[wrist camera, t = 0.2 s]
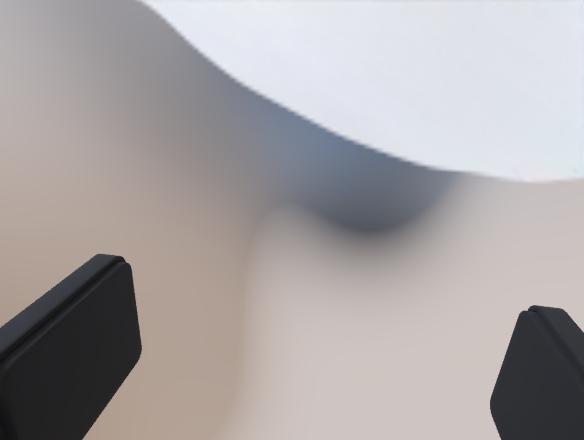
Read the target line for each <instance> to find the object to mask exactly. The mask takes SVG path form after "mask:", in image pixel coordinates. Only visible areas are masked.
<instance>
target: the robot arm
mask: <svg viewBox="0 0 584 440" xmlns="http://www.w3.org/2000/svg"><path fill="white" fill-rule="evenodd" d="M141 350H142V345H141V338H140V331H139V323H138V315H137V307H136V301H135V293H134V285H133V277H132V270H131V266H130V264H129V263H126V262H125V260H124V258H123V257H121V256H115V255H106V254H97V255H95V256H94V257H93V258H91V259H90V260H89V261H87V262H86V263H85V264H84V265H82V266H81V267H80V268H78V269H77V270H76V271H74V272H73V273H72V274H70V275H69V276H68V277H66V278H65V279H64V280H62V281H61V282H60V283H59V284H57V285H56V286H55V287H53V288H52V289H51V290H50V291H48V292H47V293H45V294H44V295H43V296H42V297H40V298H39V299H37V300H36V301H35V302H34V303H32V304H31V305H30V306H28V307H27V308H26V309H25V310H23V311H22V312H20V313H19V314H18V315H16V316H15V317H14V318H13V319H11V320H10V321H9V322H7V323H6V324H5V325H4V326H2V327H1V328H0V440H82V439H83V438H84V436H85V435H86V434H87V432H88V431H89V429H90V428H91V427H92V425H93V424H94V422H95V421H96V420H97V418H98V417H99V415H100V414H101V413H102V411H103V410H104V408H105V407H106V406H107V404H108V403H109V401H110V400H111V399H112V397H113V396H114V394H115V393H116V392H117V390H118V389H119V387H120V386H121V384H122V383H123V382H124V380H125V379H126V377H127V376H128V375H129V373H130V372H131V370H132V369H133V368H134V366H135V365H136V363H137V362H138V360H139V358H140V355H141ZM490 409H491V414H492V417H493V420H494V422H495V425H496V427H497V430H498V432H499V435H500V438H501V440H584V333H583V331H582V330H581V329H580V328H579V327H578V326H577V324H576V323H575V322H574V321H573V320H572V319H571V317H570V316H569V315H568V314H567V313H566V312H565V311H564V310H563V309H560V308H552V307H544V306H536V305H533V306H531V307H530V308H529V309H528V311H522V312H521V313H520V314H519V317H518V319H517V322H516V326H515V328H514V331H513V334H512V337H511V340H510V343H509V346H508V349H507V352H506V355H505V358H504V361H503V364H502V367H501V369H500V373H499V375H498V378H497V381H496V384H495V387H494V390H493V393H492V396H491V400H490Z"/></svg>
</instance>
